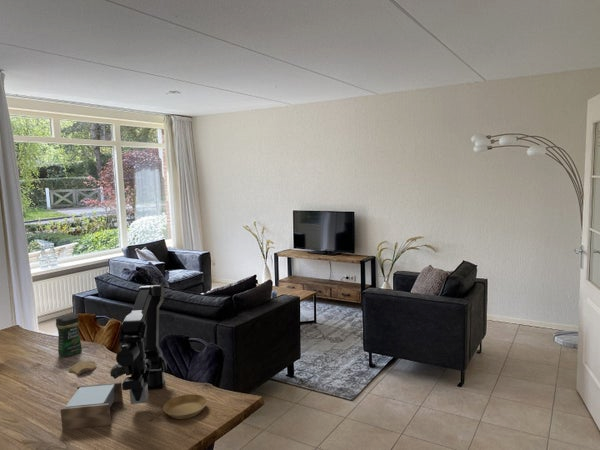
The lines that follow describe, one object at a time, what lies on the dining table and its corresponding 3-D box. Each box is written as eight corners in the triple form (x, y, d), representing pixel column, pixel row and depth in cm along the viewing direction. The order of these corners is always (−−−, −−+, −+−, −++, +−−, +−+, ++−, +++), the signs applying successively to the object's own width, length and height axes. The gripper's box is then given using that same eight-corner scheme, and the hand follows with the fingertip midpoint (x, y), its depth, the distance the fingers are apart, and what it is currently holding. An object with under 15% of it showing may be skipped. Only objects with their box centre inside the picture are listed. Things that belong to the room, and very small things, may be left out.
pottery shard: (67, 375, 198) (74, 376, 191) (66, 364, 199) (73, 365, 191) (94, 368, 205) (101, 370, 198) (93, 358, 206) (100, 359, 198)
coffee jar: (64, 359, 212) (60, 319, 210) (56, 355, 216) (52, 316, 214) (85, 351, 220) (81, 313, 217) (76, 348, 224) (72, 311, 222)
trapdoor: (115, 397, 169) (114, 384, 168) (104, 417, 155) (103, 403, 154) (80, 400, 167) (79, 387, 167) (66, 421, 153) (65, 406, 153)
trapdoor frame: (122, 399, 171) (121, 381, 170) (110, 424, 154) (108, 404, 153) (79, 404, 169) (78, 385, 168) (62, 429, 152) (60, 409, 151)
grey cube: (148, 395, 166) (147, 382, 165) (145, 402, 161) (144, 389, 160) (133, 397, 165) (132, 383, 164) (130, 404, 160) (129, 390, 160)
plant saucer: (171, 401, 169) (170, 394, 169) (211, 400, 169) (211, 393, 168) (157, 423, 154) (157, 415, 154) (202, 422, 154) (201, 414, 154)
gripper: (118, 346, 169) (122, 387, 171) (103, 367, 151) (108, 413, 153) (150, 343, 170) (153, 384, 172) (139, 364, 152) (143, 409, 154)
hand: (139, 397), depth 163 cm, fingers closed on grey cube, 5 cm apart
